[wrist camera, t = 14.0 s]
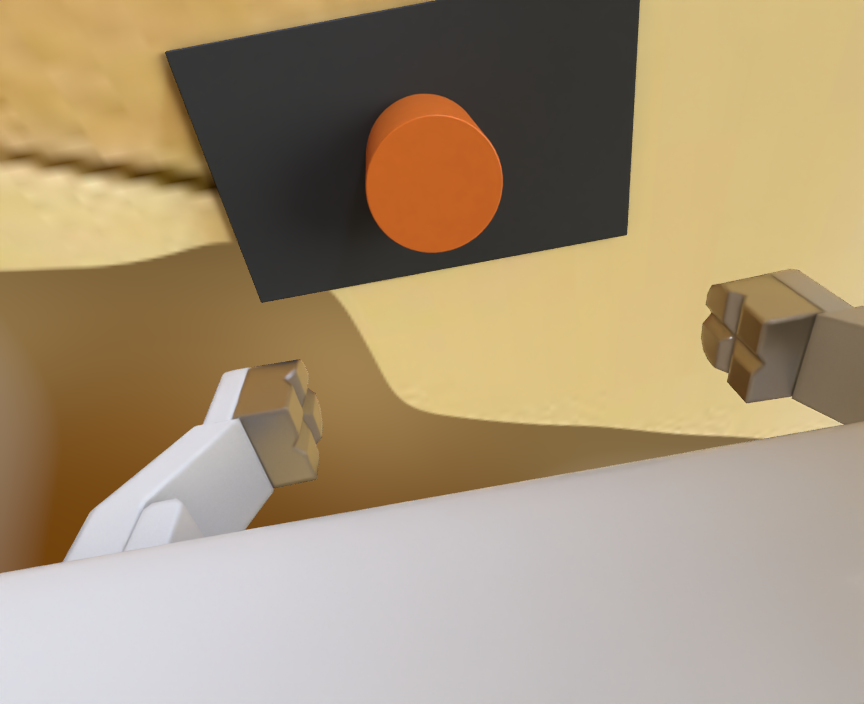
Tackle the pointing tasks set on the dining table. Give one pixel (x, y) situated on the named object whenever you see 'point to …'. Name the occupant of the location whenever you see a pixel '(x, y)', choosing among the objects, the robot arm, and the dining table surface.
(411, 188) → the cylinder
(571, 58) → the mat
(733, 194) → the dining table surface
